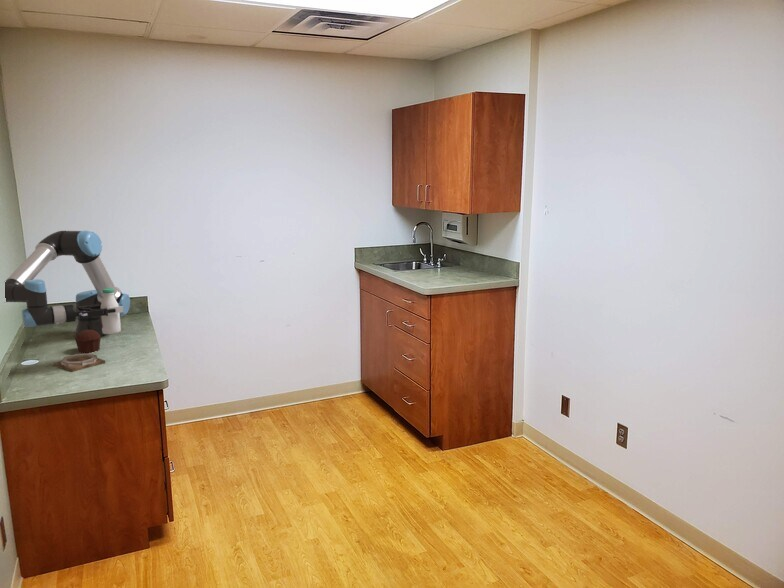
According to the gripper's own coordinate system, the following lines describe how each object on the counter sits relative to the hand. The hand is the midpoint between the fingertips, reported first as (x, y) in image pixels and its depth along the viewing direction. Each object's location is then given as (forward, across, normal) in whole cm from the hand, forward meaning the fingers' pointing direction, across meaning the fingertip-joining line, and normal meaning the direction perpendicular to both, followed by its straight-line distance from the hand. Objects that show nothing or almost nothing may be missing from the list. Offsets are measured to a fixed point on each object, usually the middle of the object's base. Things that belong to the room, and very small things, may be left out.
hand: (120, 307), depth 275 cm
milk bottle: (-5, 0, -11) cm, 12 cm away
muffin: (-11, -23, -24) cm, 35 cm away
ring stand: (-18, -2, -24) cm, 30 cm away
